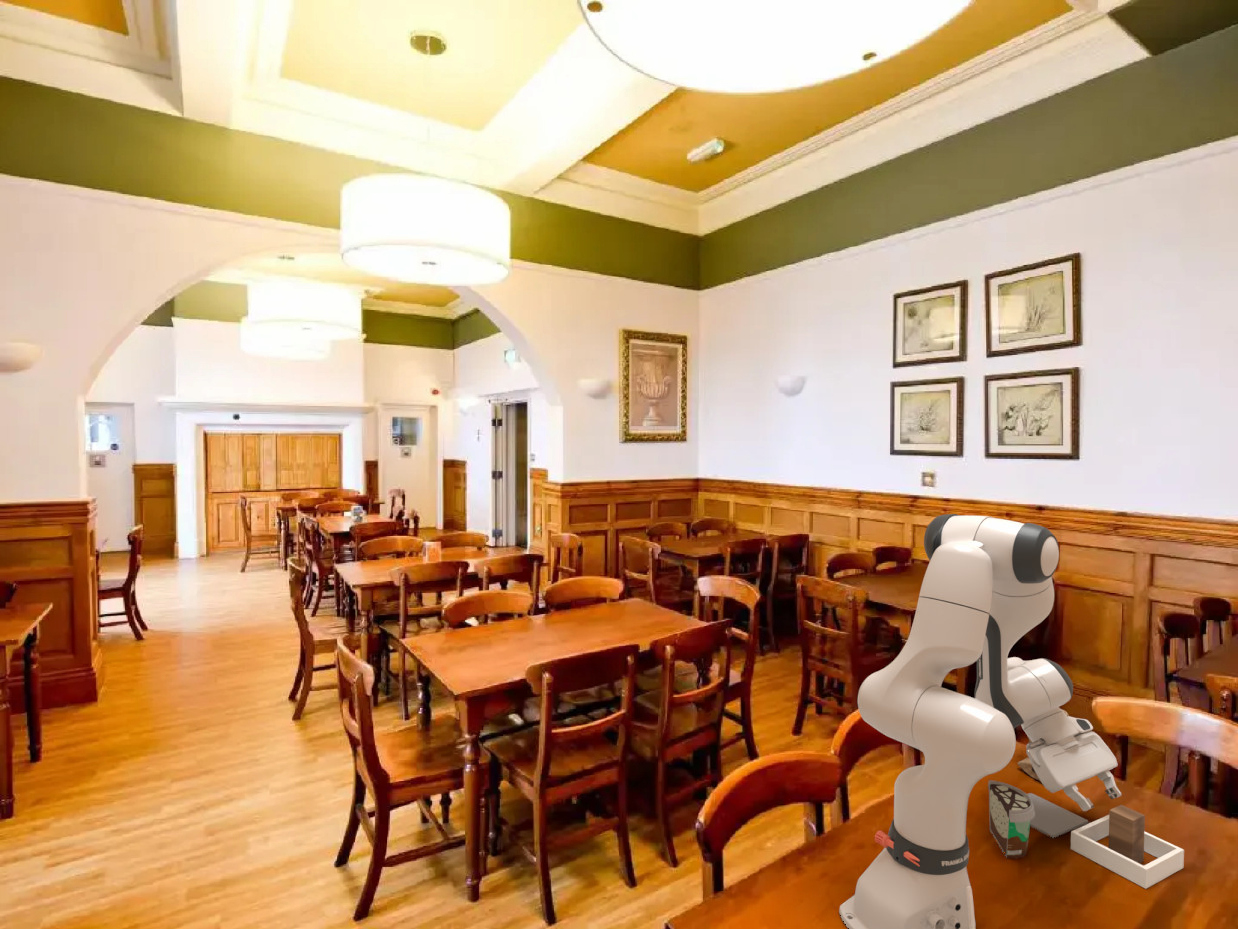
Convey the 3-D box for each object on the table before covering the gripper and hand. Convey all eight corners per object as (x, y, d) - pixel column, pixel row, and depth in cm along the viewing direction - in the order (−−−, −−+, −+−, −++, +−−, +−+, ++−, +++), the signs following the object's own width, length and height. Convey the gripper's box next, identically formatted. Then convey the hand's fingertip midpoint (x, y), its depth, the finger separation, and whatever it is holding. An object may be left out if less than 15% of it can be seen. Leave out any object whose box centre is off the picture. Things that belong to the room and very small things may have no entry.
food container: (1045, 867, 125) (1046, 815, 124) (1009, 863, 126) (1010, 811, 125) (1019, 829, 137) (1020, 781, 136) (987, 825, 138) (988, 778, 138)
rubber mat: (1053, 838, 133) (1053, 836, 133) (996, 808, 144) (996, 806, 144) (1088, 822, 139) (1088, 820, 139) (1030, 795, 150) (1030, 792, 150)
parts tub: (1145, 888, 119) (1146, 869, 118) (1070, 849, 130) (1071, 831, 130) (1183, 868, 124) (1184, 849, 124) (1108, 831, 136) (1108, 814, 136)
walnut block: (1131, 867, 124) (1133, 820, 124) (1108, 855, 128) (1109, 810, 128) (1143, 861, 126) (1144, 815, 126) (1120, 849, 130) (1121, 804, 129)
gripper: (1033, 739, 132) (1084, 811, 124) (1093, 718, 141) (1144, 785, 133) (1011, 751, 136) (1059, 822, 128) (1070, 731, 145) (1119, 796, 137)
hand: (1103, 803), depth 131 cm, fingers open, 8 cm apart
